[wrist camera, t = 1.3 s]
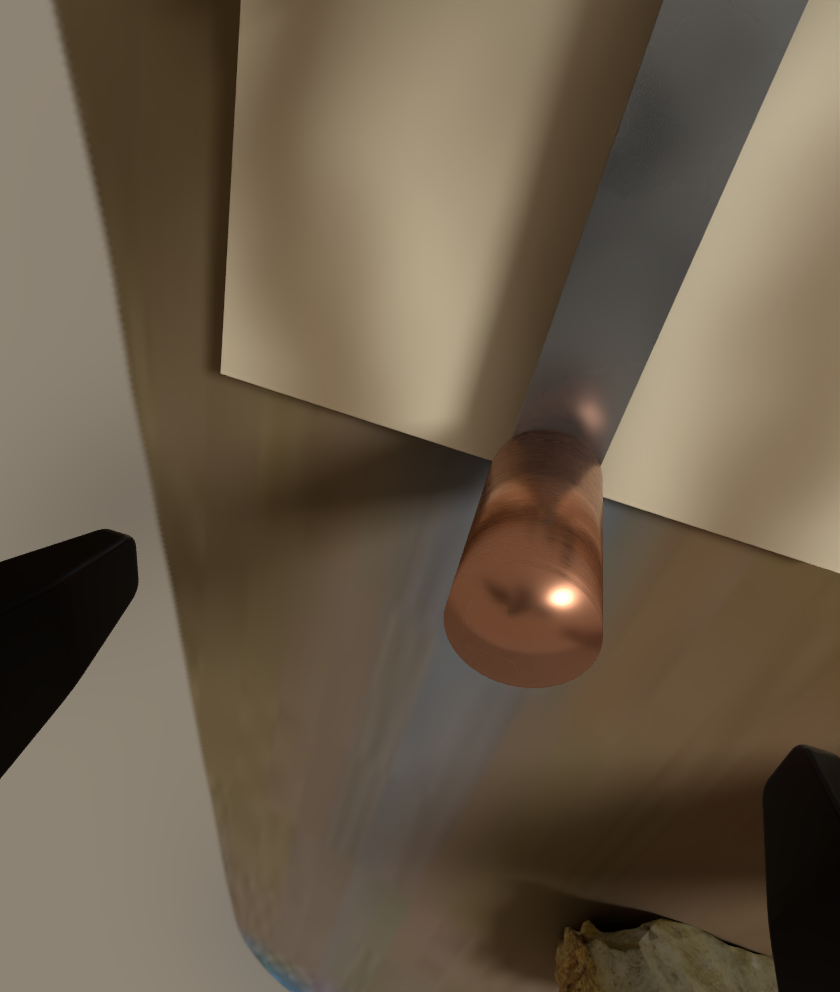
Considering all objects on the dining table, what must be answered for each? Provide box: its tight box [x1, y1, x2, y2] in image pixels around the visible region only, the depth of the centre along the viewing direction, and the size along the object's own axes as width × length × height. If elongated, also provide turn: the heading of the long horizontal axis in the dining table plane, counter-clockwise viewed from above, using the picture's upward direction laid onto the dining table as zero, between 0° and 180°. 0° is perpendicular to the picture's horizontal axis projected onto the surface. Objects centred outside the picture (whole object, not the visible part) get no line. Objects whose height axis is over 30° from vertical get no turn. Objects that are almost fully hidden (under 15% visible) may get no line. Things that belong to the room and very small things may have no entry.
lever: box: [444, 0, 809, 688], centre depth 10 cm, size 21×3×7 cm, turn 167°
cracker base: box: [221, 0, 840, 573], centre depth 12 cm, size 20×22×5 cm
